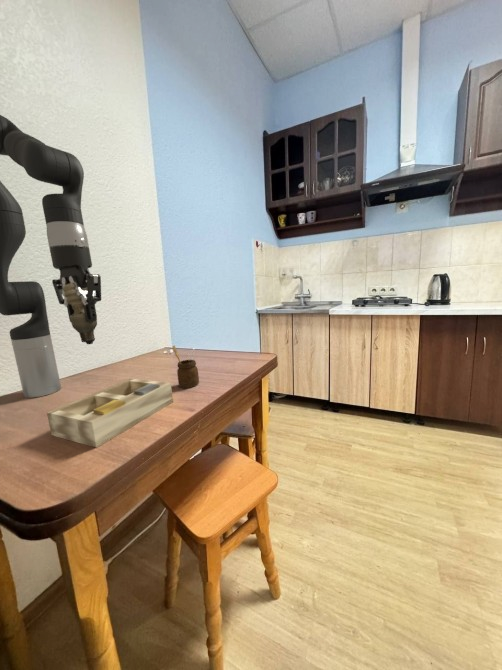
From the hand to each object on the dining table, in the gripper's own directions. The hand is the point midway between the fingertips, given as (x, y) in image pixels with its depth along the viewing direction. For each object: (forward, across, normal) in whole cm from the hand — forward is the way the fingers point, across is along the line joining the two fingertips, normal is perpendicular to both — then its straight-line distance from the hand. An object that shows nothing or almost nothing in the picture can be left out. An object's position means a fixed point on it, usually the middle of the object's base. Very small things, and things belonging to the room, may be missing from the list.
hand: (83, 321), depth 65 cm
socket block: (+22, +8, -1) cm, 24 cm away
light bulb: (+6, 0, 0) cm, 6 cm away
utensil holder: (+22, +11, +20) cm, 32 cm away
